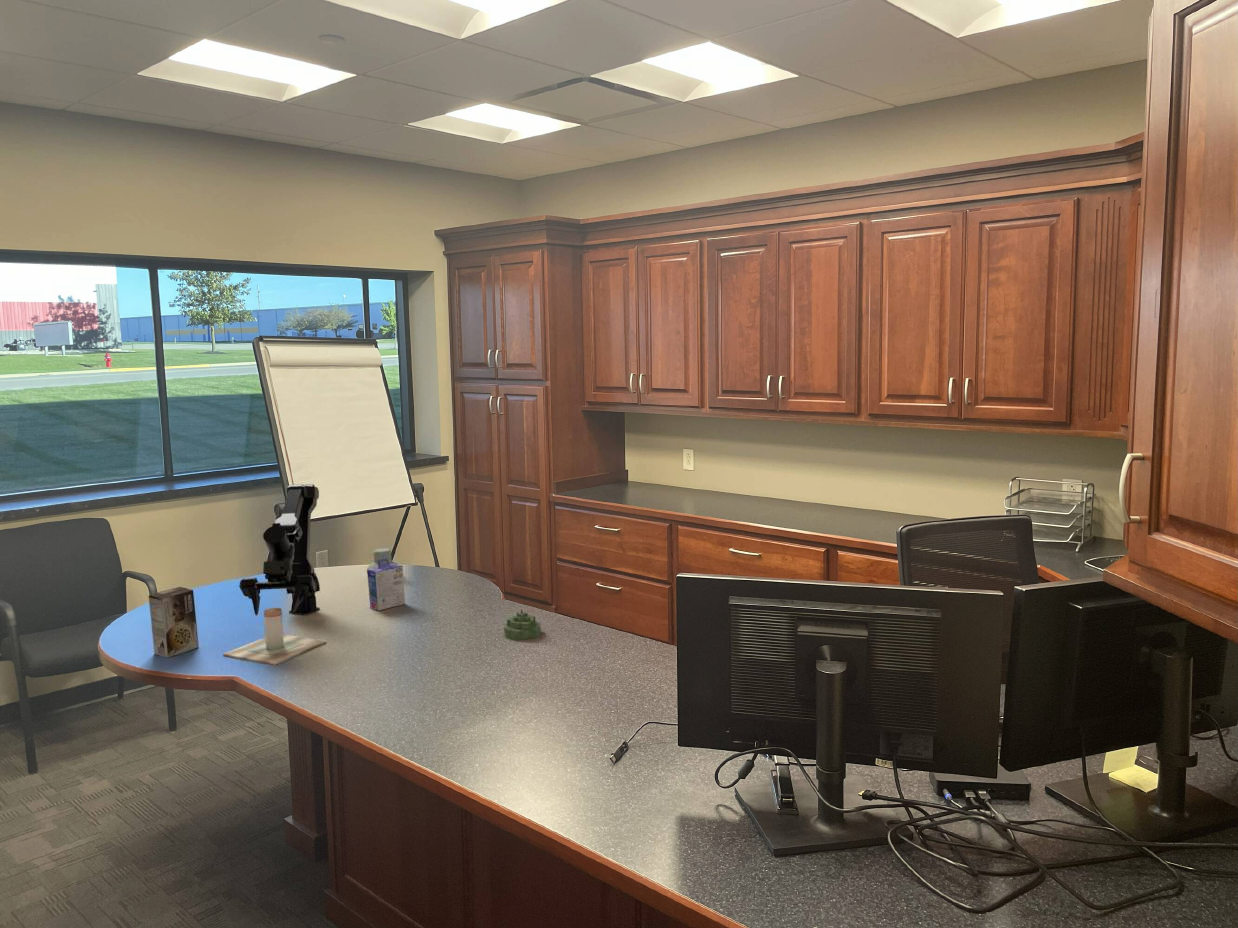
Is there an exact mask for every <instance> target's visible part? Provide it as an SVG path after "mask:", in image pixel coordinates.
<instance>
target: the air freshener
mask: <svg viewBox="0 0 1238 928" xmlns="http://www.w3.org/2000/svg"><path fill="white" fill-rule="evenodd" d="M372 555H373V556H372V557H373V562H372V563H370V564H369V565H368V566H367V568H366V571H367V570H369V569H373V568H377V567H378V563H377V560H381V559H386V558H387V559H388V562H389V564H398V563H397V562H396V561H394V560H392V549H390V548H388V547H385V548H384V547H382V548H376V549H374V550H373V553H372ZM385 563H387V562H386V561H382V562H380V564H385Z"/></svg>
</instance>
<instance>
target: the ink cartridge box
mask: <svg viewBox="0 0 1238 928" xmlns="http://www.w3.org/2000/svg"><path fill="white" fill-rule="evenodd" d="M382 561H386V562H387V563H385V564H380V562H382ZM377 563H378V567H377V568H373V569H369V570H367V569H366V574H367V585H368V596H369V608H370V609H372V610H375V611H383V610H386V609H390V608H394V607H398V606H402V605H405V604H406V597H405V596H406V594H405V582H404V578H405V577H404V566H403V565H400V564H398V563H397V564H389V562H388V559H387V558H386V559H381V560H377Z"/></svg>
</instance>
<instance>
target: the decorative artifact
mask: <svg viewBox="0 0 1238 928" xmlns="http://www.w3.org/2000/svg"><path fill="white" fill-rule="evenodd" d="M541 631H542V627H541V623H540V622H539V621H536V616H533V615H529V614H528V612H526V611H524V612H523V609H520V612H516V615H515V616H514V615H513V616H512V617H511V616H510V617H508V618H507V620H506V623H505V624H504V625H503V637H505V638H506V639H509V640H515V641H525V640H530V639H531V640H533V639H535V638H538V637H539V636H541V634H542V632H541Z"/></svg>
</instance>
